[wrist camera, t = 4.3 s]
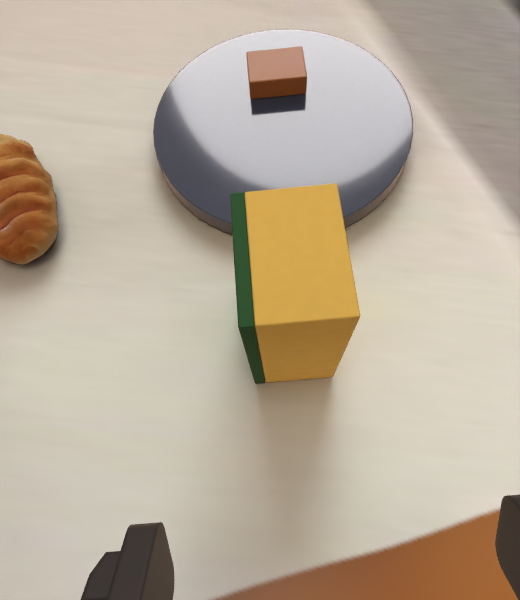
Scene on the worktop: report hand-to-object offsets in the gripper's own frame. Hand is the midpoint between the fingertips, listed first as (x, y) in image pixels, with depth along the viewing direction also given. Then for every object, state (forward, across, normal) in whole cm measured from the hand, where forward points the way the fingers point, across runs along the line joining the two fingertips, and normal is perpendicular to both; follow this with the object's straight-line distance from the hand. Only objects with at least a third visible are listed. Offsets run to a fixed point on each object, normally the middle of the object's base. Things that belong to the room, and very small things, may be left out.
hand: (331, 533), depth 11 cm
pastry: (+24, +18, -5) cm, 31 cm away
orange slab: (+28, -1, -11) cm, 30 cm away
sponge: (+16, 0, +3) cm, 17 cm away
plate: (+27, -1, -8) cm, 28 cm away
